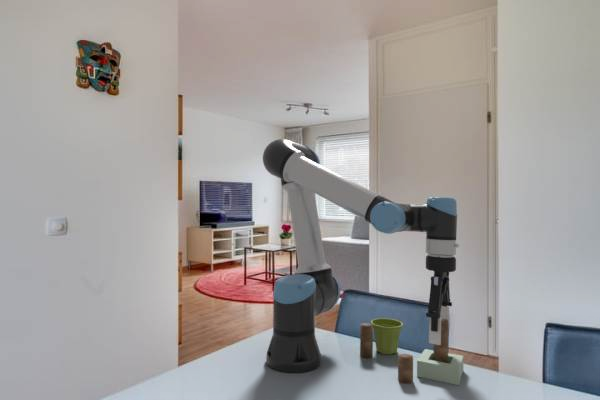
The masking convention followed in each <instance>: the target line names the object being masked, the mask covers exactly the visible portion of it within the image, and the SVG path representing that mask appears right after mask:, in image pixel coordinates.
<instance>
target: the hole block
mask: <svg viewBox="0 0 600 400" xmlns="http://www.w3.org/2000/svg"><path fill="white" fill-rule="evenodd" d="M463 373H464V355H461V354H455V353H449V352H448V363H444V362H439V361H434V349H433V350H432V349H427V348H425V349H424V350H423V351H422V352H421V354H420V356H419V357H418V359H417V360H416V377H418V378H423V379H426V380H427V379H428V380H433V381H437V382H442V383H446V384H452V385H456V386H459V385H460V382H461V380H462V378H463V377H462V376H463Z"/></svg>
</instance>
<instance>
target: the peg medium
mask: <svg viewBox="0 0 600 400" xmlns="http://www.w3.org/2000/svg"><path fill="white" fill-rule="evenodd" d="M359 326H360V329H359V330H360V331H359V332H360V337H359V338H360V339H359V340H360V342H359V349H360V350H359V357H361V358H363V359H372V358H373V355H374V354H373V353H374V352H373V346H374V344H373V342H374V339H373V338H374V329H373V325H372V324H371V323H367V322H365V323H360V324H359Z"/></svg>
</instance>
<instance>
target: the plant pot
mask: <svg viewBox="0 0 600 400" xmlns="http://www.w3.org/2000/svg"><path fill="white" fill-rule="evenodd" d="M370 324H372V325H373V336H374V341H375V349H376V352H379V353H380V354H382V355H389V356H390V355H393V354H397V352H398V347H399V345H398V344H399V340H400V334H401V330H402V327H403V325H404V324H403V322H402V321H400V320H397V319H394V318H386V317H385V318H374V319H372V320H371V321H370Z"/></svg>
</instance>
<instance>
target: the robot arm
mask: <svg viewBox="0 0 600 400" xmlns="http://www.w3.org/2000/svg"><path fill="white" fill-rule="evenodd" d="M320 162H321V161H320V158H319V155H318V154H317V153H316V152H315V150H313V149H312V148H310V147H309V146H307V145H306V144H305V145H304V144H301V143H297V142H294V141H292V140H288V139H286V138H285V139H283V138H279V139H276V140H273V141H271V142H270V143H268V145H267V146H266V147H265V149H264V151H263V154H262V163H263V166H264V168H265V170H266V171H267V172H268V173H269V174H270V175H272V176H274V177H277V179H278V178H279V179H280V182H281V183H280V184H281V187H282V188H281V189H283V190H284V191H286V192H287V198H288V204H289V212H290V218H291V223H292V232H293V239H294V246H295V251H296V258H297V264H298V265H297V266H298V267H297V268H296V270H295V271H294V274H290V275H289V274H288V275H284V276H281V277H279V278H278V279H276V281H275V282H274V285H273V294H272V297H273V313H272V314H273V315H272V316H273V319H272V322H273V324H272V327H273V328H272V336H271V340H270V341H269V345H268V348H267V351H266V358H265V359H266V361H265V362H266V364H267V366H268V367H269V368H270V369H273V370H275V371H279V372H285V373H304V372H305V373H306V372H309V371H313V370H315V369H318V367H319V366H321V363H322V362H321V361H322V360H321V359H322V358H321V357H322V355H321V354H322V353H321V351H320V349H319V345H318V341H317V338H316V332H315V331H316V324H315V323H316V317H317V316H319V315H321V314H324V313H327V312H329V311H330V310H332V308H334V307H335V306H336V305H337V304H338V302H339V301H340V297H341V285H340V283H339V280H338V279H337V278H336V277H335V276H334V275H333V271H332V266H331V265H330V264H328V263H327V262H326V258H325V251H324V244H323V238H322V231H321V226H320V219H319V213H318V207H317V200H316V195H318V196H319V197H321V198H323V199H325V200H326V201H329V202H330V203H333V204H334V205H336V206H338V207H340V208H342V209H343V210H345V211H346V212H347V211H348V212H349V213H350V214H353V215H354V216H356V217H358V218H360V219H363V221H365V222H367V223H368V224H371V226H372V227H373V228H374V229H375V230H376V231H377V232H380V233H382V234H383V233H384V234H395V233H399V232H400V233H402V232H414V233H415V232H419V233H425V234H426V236H425V238H426V239H425V253H426V254H427V255H426V256H425V269H426V270H428V271H433V276H430V289H429V298H428V300H429V301H428V307H427V308H428V309H427V312H426V313H425V316H426V318H428V321H429V322H428V344H433V345H434V344H436V345H441V318H444V319H447V320H448V331H449V329H450V328H449V326H450V325H449V323H450V322H449V320H450V307H452V306H453V302H452V301H451V293H450V273H454V272H455V271H456V269H457V258H456V257H455V255H456V254H457V248H459V247H460V245H459V244H458V243H457V229H458V226H457V225H458V223H457V222H458V212H457V210H458V209H457V200H456V199H455V198H454V197H447V196H446V197H445V196H435V197H434V196H431V197H428V198H427V199H426V203H423V204H417V203H416V204H414V203H398V202H395V201H392V200H390V199H389V198H386V197H385V196H382V195H381V194H378V193H376V192H374V191H372V190H371V189H368V188H366V187H364V186H362V185H360V184H358V183H357V182H354V181H352V180H351V179H349V178H346V177H344V176H342V175H340V174H338V173H336V172H334V171H333V170H330V169H329V168H326V167H324V166H323V165H321V163H320Z"/></svg>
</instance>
